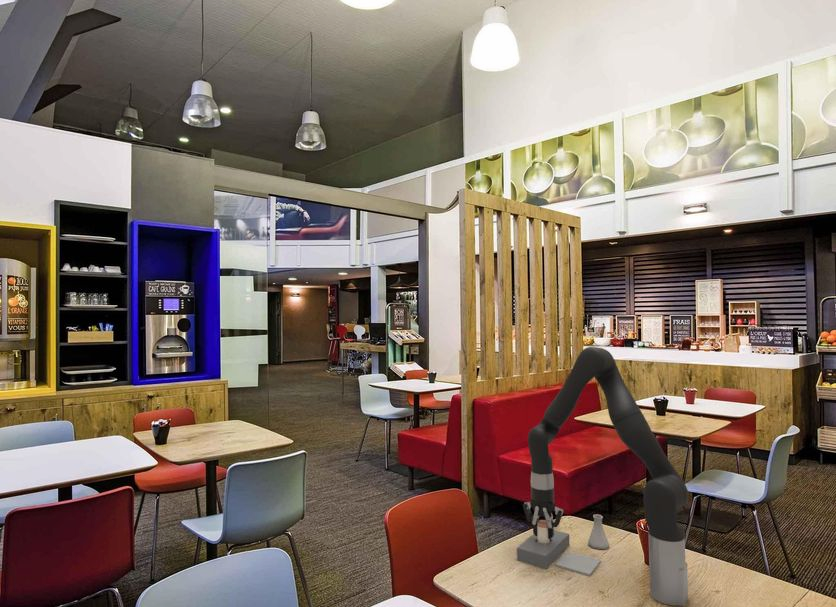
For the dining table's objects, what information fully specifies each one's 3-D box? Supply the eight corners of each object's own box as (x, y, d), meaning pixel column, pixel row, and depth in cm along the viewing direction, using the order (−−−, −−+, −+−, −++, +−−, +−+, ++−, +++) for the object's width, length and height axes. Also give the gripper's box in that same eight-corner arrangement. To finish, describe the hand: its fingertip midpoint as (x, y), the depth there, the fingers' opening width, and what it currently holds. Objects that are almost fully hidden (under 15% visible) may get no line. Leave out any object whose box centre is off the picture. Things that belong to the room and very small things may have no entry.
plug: (551, 551, 170) (550, 521, 171) (547, 556, 167) (547, 525, 167) (539, 548, 173) (539, 518, 173) (536, 553, 169) (535, 523, 169)
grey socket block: (569, 545, 175) (569, 533, 175) (546, 569, 159) (545, 556, 159) (542, 538, 181) (541, 526, 181) (517, 560, 165) (516, 547, 165)
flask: (612, 550, 171) (612, 520, 172) (591, 550, 171) (590, 520, 172) (605, 540, 179) (604, 512, 179) (584, 540, 179) (584, 512, 179)
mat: (601, 562, 163) (601, 560, 163) (589, 576, 154) (589, 574, 154) (567, 552, 170) (567, 550, 170) (555, 565, 161) (555, 564, 161)
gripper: (566, 485, 170) (567, 537, 169) (525, 478, 177) (526, 528, 177) (560, 492, 164) (561, 545, 163) (518, 484, 171) (519, 536, 171)
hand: (543, 536), depth 170 cm, fingers closed on plug, 4 cm apart
